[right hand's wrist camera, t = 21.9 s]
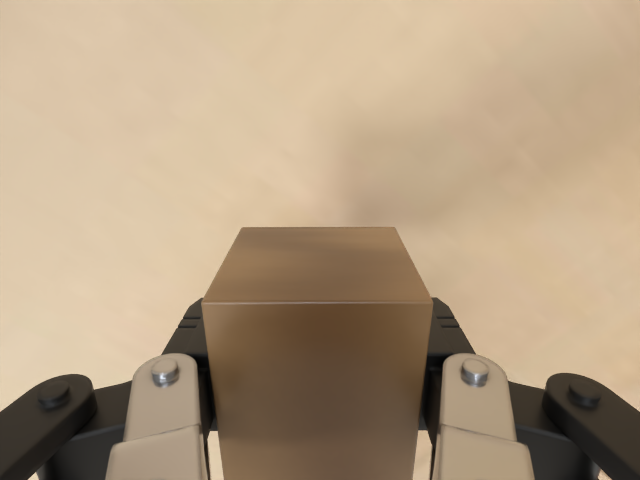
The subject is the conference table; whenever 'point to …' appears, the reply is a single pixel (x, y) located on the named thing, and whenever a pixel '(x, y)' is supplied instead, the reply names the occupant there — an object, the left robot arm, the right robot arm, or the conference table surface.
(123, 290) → the conference table surface
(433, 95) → the conference table surface
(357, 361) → the brick
